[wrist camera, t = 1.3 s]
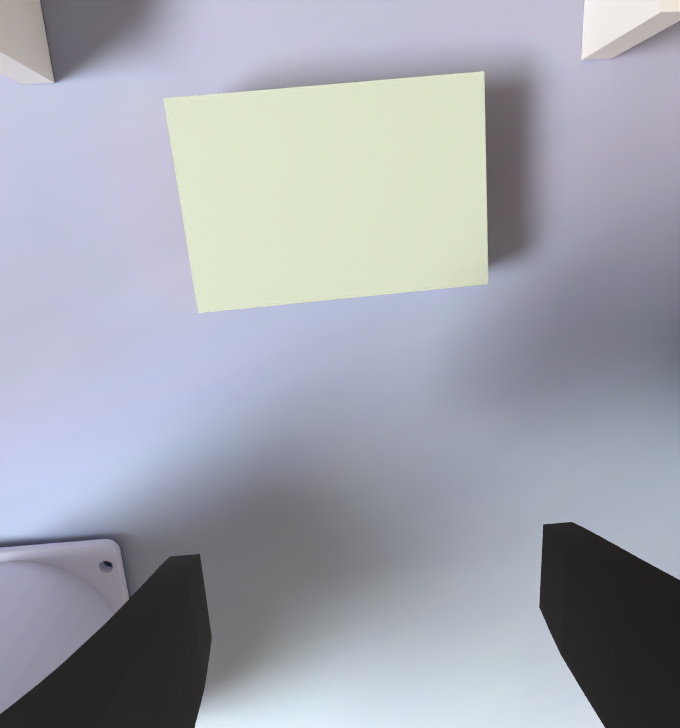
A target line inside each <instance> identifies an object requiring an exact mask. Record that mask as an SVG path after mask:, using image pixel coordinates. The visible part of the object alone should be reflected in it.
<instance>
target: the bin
mask: <svg viewBox="0 0 680 728" xmlns="http://www.w3.org/2000/svg"><path fill="white" fill-rule="evenodd" d="M679 21H680V0H585V2H584V21H583V39H582V57H581V60H597V59H612V58H613V57H615V56H617V55H619V54H621V53H622V52H624V51H626V50H628V49H630V48H631V47H633V46H635V45H637V44H639V43H641V42H642V41H644V40H646V39H648V38H650V37H651V36H653V35H655V34H657V33H659V32H660V31H662V30H664V29H666V28H668V27H670V26H671V25H673V24H675V23H677V22H679ZM0 74H2V75H4V76H6V77H8V78H10V79H12V80H14V81H16V82H18V83H20V84H44V83H54V77H53V72H52V66H51V60H50V55H49V49H48V43H47V37H46V32H45V26H44V20H43V15H42V9H41V3H40V0H0Z"/></svg>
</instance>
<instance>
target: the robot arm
mask: <svg viewBox="0 0 680 728" xmlns="http://www.w3.org/2000/svg"><path fill="white" fill-rule="evenodd" d="M103 561H109V562H110V563H112V565H113V566H111V567H110V566H106V565H105V564H104V563H103ZM539 607H540V610H541V612H542V614H543V616H544V619H545V621H546V623H547V626H548V628H549V630H550V633H551V635H552V637H553V639H554V641H555V643H556V645H557V647H558V650H559V652H560V654H561V656H562V657H563V659H564V661H565V662H566V664H567V666H568V667H569V669H570V671H571V672H572V674H573V676H574V677H575V679H576V681H577V682H578V684H579V686H580V687H581V689H582V691H583V692H584V694H585V696H586V697H587V699H588V700H589V702H590V704H591V705H592V707H593V709H594V710H595V712H596V714H597V715H598V717H599V718H600V720H601V722H602V723H603V725H604V727H605V728H680V580H679V579H677V578H675V577H673V576H671V575H669V574H667V573H665V572H663V571H662V570H660V569H658V568H656V567H654V566H652V565H651V564H649V563H647V562H645V561H643V560H641V559H640V558H638V557H636V556H634V555H632V554H631V553H629V552H627V551H625V550H623V549H622V548H620V547H618V546H616V545H615V544H613V543H611V542H609V541H607V540H606V539H604V538H602V537H600V536H598V535H596V534H595V533H593V532H591V531H589V530H587V529H585V528H583V527H581V526H579V525H577V524H575V523H572V522H567V523H556V524H544V525H543V543H542V564H541V585H540V606H539ZM211 638H212V637H211V630H210V623H209V616H208V609H207V602H206V594H205V587H204V580H203V573H202V566H201V559H200V554H195V555H184V556H172V557H169V558H168V559H167V560H166V561H165V562H164V563H163V564H162V565H161V566H160V567H159V568H158V569H157V570H156V571H155V573H154V574H153V575H152V576H151V577H150V578H149V579H148V580H147V581H146V582H145V583H144V584H143V585H142V586H141V587H140V588H139V589H138V590H137V591H136V592H135V594H134V595H133V596H132V597H131V598H130V599H129V595H128V589H127V584H126V578H125V573H124V568H123V562H122V557H121V551H120V548H119V545H118V544H117V543H116V542H115V541H113V540H111V539H97V540H85V541H73V542H61V543H49V544H38V545H26V546H14V547H2V548H0V728H194V727H195V723H196V719H197V716H198V712H199V708H200V704H201V700H202V696H203V692H204V687H205V681H206V674H207V668H208V661H209V653H210V646H211Z"/></svg>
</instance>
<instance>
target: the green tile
mask: <svg viewBox="0 0 680 728" xmlns="http://www.w3.org/2000/svg"><path fill="white" fill-rule="evenodd" d="M163 99H164V105H165V111H166V117H167V123H168V129H169V136H170V142H171V148H172V154H173V160H174V167H175V173H176V179H177V185H178V191H179V197H180V204H181V210H182V216H183V222H184V228H185V234H186V241H187V247H188V253H189V259H190V265H191V272H192V278H193V284H194V290H195V296H196V302H197V309H198V313H204V312H214V311H224V310H234V309H244V308H254V307H264V306H274V305H284V304H294V303H304V302H314V301H324V300H334V299H344V298H354V297H364V296H374V295H384V294H394V293H404V292H414V291H424V290H434V289H444V288H454V287H464V286H474V285H484V284H488V241H487V189H486V136H485V83H484V71H482V72H470V73H458V74H446V75H434V76H422V77H411V78H399V79H387V80H375V81H363V82H352V83H340V84H328V85H316V86H304V87H292V88H281V89H269V90H257V91H245V92H233V93H222V94H210V95H198V96H186V97H174V98H163Z"/></svg>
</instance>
